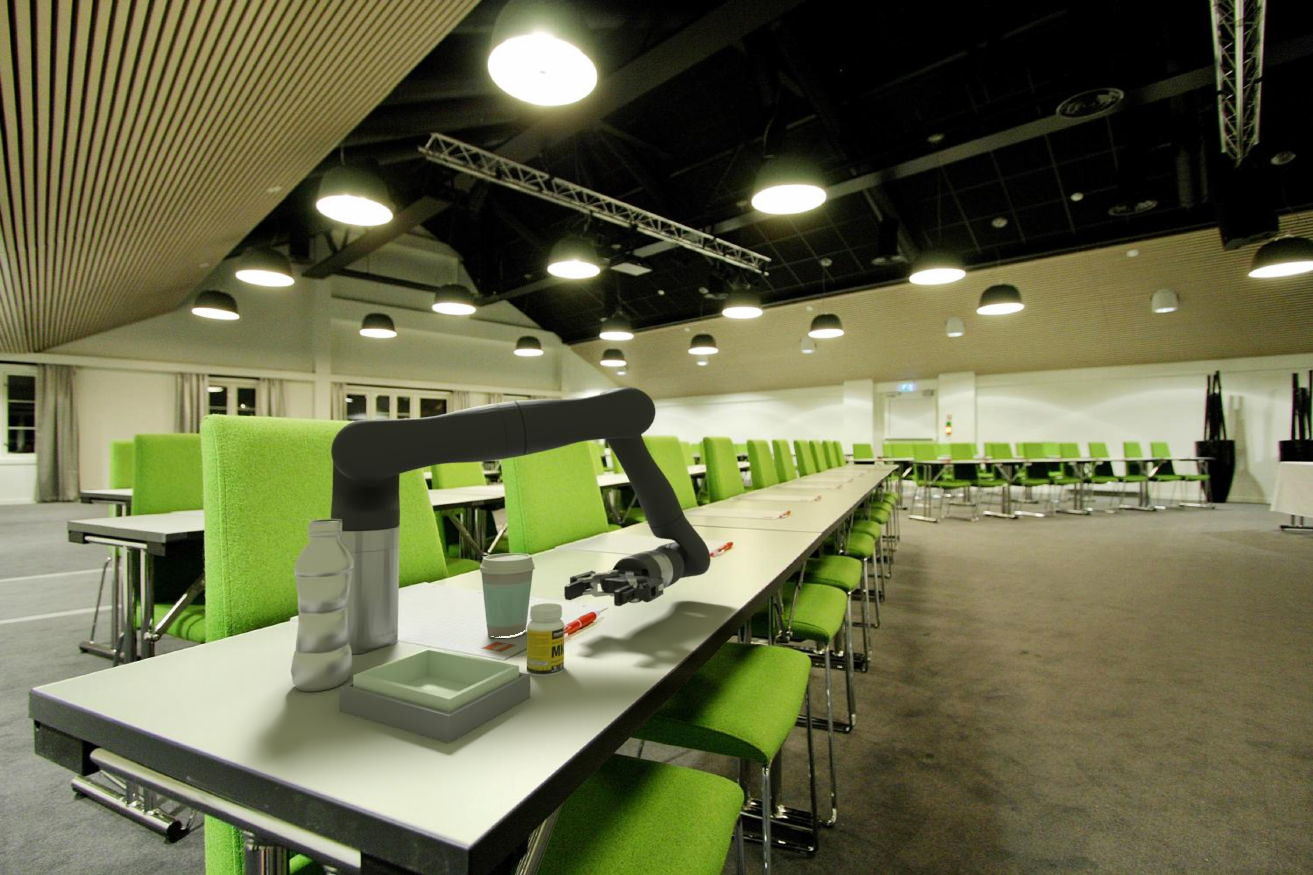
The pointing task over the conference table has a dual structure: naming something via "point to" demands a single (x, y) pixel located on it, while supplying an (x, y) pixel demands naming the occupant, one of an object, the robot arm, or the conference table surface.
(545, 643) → the supplement bottle
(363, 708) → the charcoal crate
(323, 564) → the plastic bottle
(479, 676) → the sage crate
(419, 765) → the conference table surface
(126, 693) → the conference table surface
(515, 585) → the coffee cup
